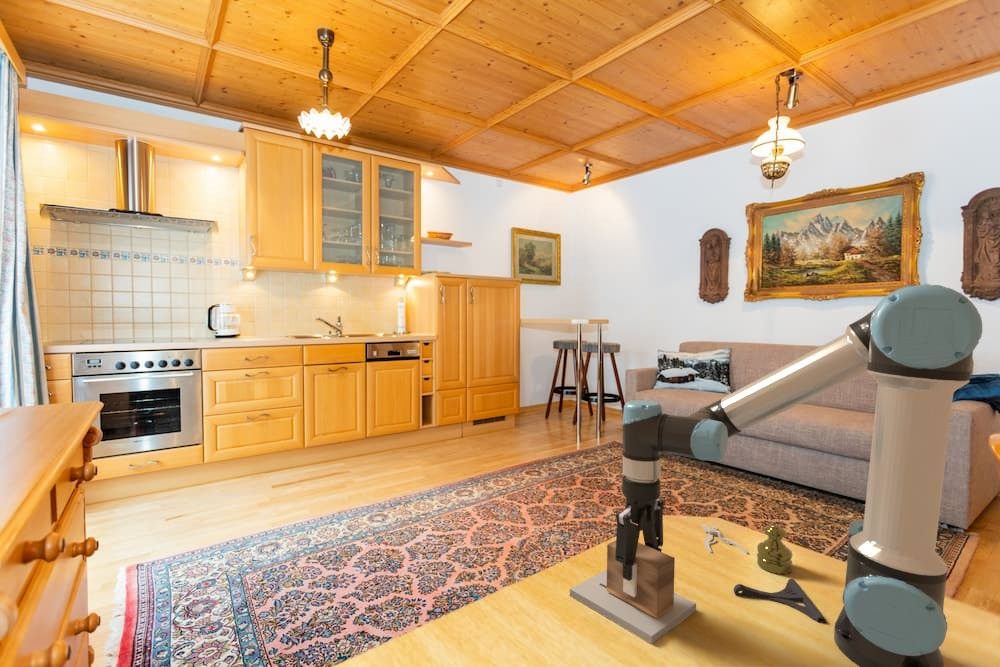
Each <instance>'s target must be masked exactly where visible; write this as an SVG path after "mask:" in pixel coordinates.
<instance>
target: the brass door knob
mask: <svg viewBox="0 0 1000 667" xmlns="http://www.w3.org/2000/svg"><path fill="white" fill-rule="evenodd" d="M762 531H763V533H765V534H766V535H767V536H768V538H767V539H765V540H764V541H760V542H759V543H758V544H757V546H756V548H757V554H756V557H757V559H756V564H757V565H758V567H760V568H761V569H762V570H764V571H767V572H768V571H769V573H771V572H772V573H771V574H775V573H777V574H776V575H787V574H790V573H791V572H792V571H793V560H792V558H793V551H792V549H790V548H789V547H788V546H786V544H785V543H783V541H782V539H783V538H785V537H786V536H787V535H788V531H786V529H784V528H783V527H780V526H778V525H777V524H771V525H769V524H768V525H765V526H764V527H763V529H762Z"/></svg>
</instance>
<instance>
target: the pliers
mask: <svg viewBox="0 0 1000 667" xmlns="http://www.w3.org/2000/svg"><path fill="white" fill-rule="evenodd" d="M701 527H702V528H703V529H702V528H701V529H702V531H704V532H705V533H706V534H707V537H705V538H704V539H703V546H704V548H705V549H706V550H707V551H708V553H710V554H713V551H712V549H711V547H710V546H711V545H715V544H716V543H717V542H718V540H717V539H715V540H714V537H717V538H718V539H720V542H721V541H722V542H721V543H723V542H724V543H723V544H726V543H727V545H729V544H732V545H731V546H734V545H736V546H735V547H737V546H738V547H739V548H738V547H737V548H738V549H740V548H741V549H742V550H743V551H744V552H743V551H742V550H741V549H740V550H741V551H742V552H743V553H744V554H745V555H749V551H748V550H747V548H745V547H744V546H743V545H742V544H740V543H739V542H737V541H735V540H733V539H731V538H728V537H726V536H725V535H724V534H723V532H721V531H720V530H718V528H717V527H716V525H715V524H712V523H711V527H709V526H708V525H706V524H705V523H701ZM721 539H722V540H721ZM713 540H714V541H713ZM716 541H717V542H716ZM727 541H728V542H727ZM729 542H730V543H729ZM714 543H715V544H714Z"/></svg>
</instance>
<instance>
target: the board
mask: <svg viewBox="0 0 1000 667" xmlns="http://www.w3.org/2000/svg"><path fill="white" fill-rule="evenodd" d="M569 596H570V597H571V596H572V597H571V598H573V599H575V600H577V602H580V603H582V605H585V606H586V607H588V608H589V609H592V610H594V611H595V612H597V613H598V614H600V615H602V616H603V617H605V618H606V619H608V620H609V621H612V622H614V623H615V624H616V625H618V626H620V627H621V628H623V629H624V630H627V631H629V632H630V633H632V634H633V635H635V636H637V637H638V638H640V639H642V640H643V641H645V642H647V643H649V644H650V645H652V644H653V645H654V643H655V642H657V641H658V640H659V639H660V638H662V637H663V636H664V635H666V634H667V633H668V632H670V631H671V630H672V629H673V628H675V627H677V626H678V625H679V624H681V623H682V622H683V621H685V620H686V619H687V618H688V617H690V616H691V615H693V614H694V613H695V612H696V611H697V602H694V601H692V600H690V599H687V598H686V597H684V596H683V595H679V594H677V593H675V592H674V607H672V608H671V609H670V610H668V611H667V612H665V613H664V614H662V615H661V616H660V617H658V618H655V617H653V616H651V615H650V614H648V613H646V612H644V611H642V610H641V609H639V608H637V607H635V606H633V605H631V604H630V603H628V602H626V601H624V600H622V599H621V598H619V597H617V596H615V595H613V594H612V593H610V592H608V591H607V569H605V570H603V571H601V572H599V573H597V574H595V575H594V576H591V577H589V578H588V579H586V580H584V581H582V582H580V583H578V584H576V585H574V586H572V587H571V588H569Z"/></svg>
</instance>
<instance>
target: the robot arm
mask: <svg viewBox="0 0 1000 667" xmlns="http://www.w3.org/2000/svg"><path fill="white" fill-rule="evenodd" d="M982 335H983V321H982V317H981V314H980V313H979V311H978V309H977V307H976V306H975V304H974V303H973V302H972V300H970V299H969V298H968V297H967V296H965V295H964V294H962V293H961V292H959V291H957V290H955V289H953V288H950V287H946V286H943V285H939V284H929V283H925V284H912V285H908V286H903V287H901V288H899V289H896V290H893V291H892V292H890V293H889V294H887V295H886V296H884V297H883V298H882V299H881V300H880V301H879V303H878V304H877V305H876V307H875V308H874V309H873V310H872V311H870V312H869V313H867V314H866V315H865V316H863V317H862V318H861V317H860V319H857V320H856V321H853V322H852V323H851V324H848V325H847V326H846V329H845V333H844V334H842V335H840V336H838V337H836V338H834V339H833V340H831V341H828V342H827V343H825V344H823V345H821V346H819V347H817V348H815V349H813V350H812V351H809V352H808V353H806V354H803V355H802V356H800V357H798V358H796V359H794V360H792V361H791V362H789V363H787V364H785V365H782V366H781V367H778V369H775V370H773V371H771V372H769V373H768V374H766V375H764V376H762V377H760V378H757V380H755V381H752V382H750V383H748V384H747V385H744V386H743V387H741V388H739V389H737V390H735V391H734V392H731V393H730V394H728V395H725V396H724V397H722V398H720V399H719V400H716V401H715V402H712V403H711V404H709V405H706V406H704V407H703V406H702V408H700V409H698V410H697V411H696V412H694V413H692V414H690V415H689V416H681V415H672V414H667V413H663V410H662V405H661V403H659V402H657V401H653V400H646V399H644V400H643V399H638V400H637V399H635V400H629V401H627V402H626V403H625V404H624V406H623V413H622V414H623V415H622V423H621V424H622V474H623V475H622V478H621V493H622V495H623V496H624V498H625V499H626V503H625V506H624V510H623V511H622V512H620V511H616V513H615V519H616V524H617V525H616V539H615V541H616V555H615V560H616V561H618V562H620V563H622V564H623V592H625V593H627V594H629V595H631V596H633V597H636V596H637V564H636V563H634V562H635V556H636V551H637V545H638V542H639V539H640V533H642V537H643V542H644V545H646V546H648V547H651V548H653V549H655V550H658V551H660V552H663V551H662V547H663V546H664V519H663V515H664V513H663V511H664V504H665V501H664V500H662V499H660V498H661V480H660V478H661V476H662V473H661V472H662V469H661V467H662V465H661V464H662V460H661V458H662V457H661V456H662V453H663V454H664V453H665V454H669V455H676V456H681V457H686V458H693V459H697V460H700V461H709V462H710V461H711V462H721V461H722V460H723V459H725V457H726V453H727V450H728V446H729V445H728V444H729V442H728V441H729V439H730V438H731V437H734V436H736V435H738V434H740V433H742V432H743V431H746V430H748V429H749V428H752V427H754V426H756V425H758V424H760V423H763V422H764V421H767V420H769V419H771V418H773V417H775V416H778V415H779V414H782V413H784V412H786V411H788V410H791V409H793V408H795V407H797V406H799V405H801V404H803V403H806V402H808V401H810V400H812V399H814V398H816V397H819V396H821V395H822V394H824V393H826V392H829V391H831V390H833V389H835V388H837V387H840V386H842V385H844V384H846V383H848V382H850V381H853V380H855V379H857V378H859V377H862V376H863V375H865V374H869V375H870V376H871V377H872V378H873V379H874V380H875V381H876V383H877V388H876V389H877V392H876V400H875V410H874V420H873V428H872V429H873V430H872V439H871V440H872V441H871V447H870V449H871V450H870V457H869V469H868V478H867V488H866V497H865V506H864V516H863V517H864V518H863V519H862V518H861V519H854V520H852V521H850V522H849V526H848V531H847V532H846V534H847V537H848V538H847V539H848V541H847V542H848V544H847V545H848V546H847V561H846V572H845V582H844V589H843V591H842V604H843V606H842V609H841V611H840V613H839V614H838V617H837V619H836V621H835V624H834V630H833V631H834V632H833V634H834V635H833V638H834V642H835V644H836V646H837V647H838V649H839V650H840V651H841V652H842V653H843V655H844V656H846V657H847V658H848V659H850V660H851V661H852V662H853V663H855V664H857V665H859V667H944V666H945V665H944V664H945V663H944V659H943V655H942V652H941V650H940V647H941V645H942V644H943V643H944V641H945V639H946V635H947V632H948V622H947V617H946V615H945V613H944V603H945V597H946V588H947V587H946V586H947V577H948V570H949V569H948V565H947V563H946V561H945V560H943V558H942V557H941V556H940V555H939V553H937V552H936V547H937V546H936V545H937V538H938V529H939V521H940V513H941V512H940V511H941V505H942V504H941V503H942V494H943V486H944V485H943V484H944V477H945V469H946V461H947V460H946V458H947V450H948V443H949V442H948V441H949V434H950V427H951V417H952V409H953V408H952V406H953V400H954V399H953V398H954V393H955V392H956V391H957V390H958V389H961V388H962V387H963V386H965V385H967V384H969V383H970V381H971V380H970V379H971V371H972V364H973V356H974V355H973V354H974V350H975V349H976V347H977V346H978V344H979V342H980V340H981V338H982ZM660 547H661V548H660ZM629 557H630V558H629Z"/></svg>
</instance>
